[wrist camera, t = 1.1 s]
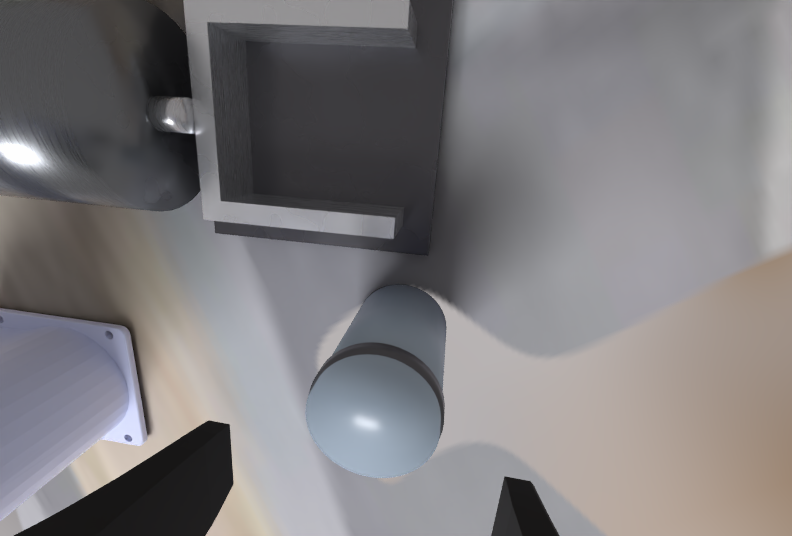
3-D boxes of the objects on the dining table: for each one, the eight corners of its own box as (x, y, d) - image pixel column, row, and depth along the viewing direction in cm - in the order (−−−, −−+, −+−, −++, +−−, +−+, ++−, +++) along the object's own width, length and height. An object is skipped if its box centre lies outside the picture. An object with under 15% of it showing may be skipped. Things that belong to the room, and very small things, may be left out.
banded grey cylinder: (354, 360, 20) (303, 466, 13) (357, 277, 18) (301, 350, 12) (442, 373, 19) (435, 491, 13) (453, 288, 18) (451, 371, 11)
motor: (63, 212, 20) (-134, 245, 13) (16, -16, 17) (-273, -122, 10) (429, 250, 17) (412, 314, 11) (454, -6, 14) (451, -136, 8)
